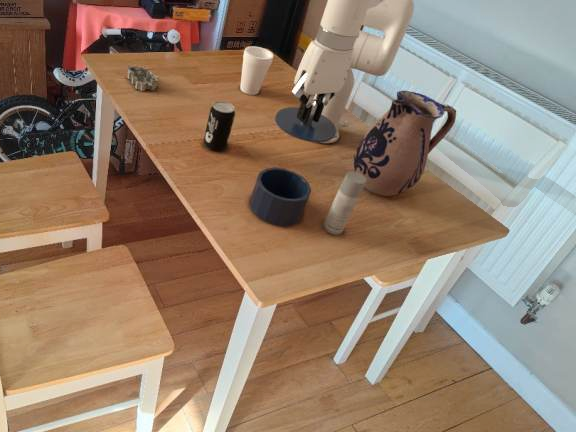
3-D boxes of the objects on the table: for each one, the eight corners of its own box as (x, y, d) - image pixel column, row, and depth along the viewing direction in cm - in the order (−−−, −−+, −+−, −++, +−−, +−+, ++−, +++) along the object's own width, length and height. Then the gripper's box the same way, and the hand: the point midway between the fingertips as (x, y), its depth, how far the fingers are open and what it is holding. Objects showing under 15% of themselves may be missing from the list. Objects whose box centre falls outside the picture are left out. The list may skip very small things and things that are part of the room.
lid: (311, 108, 120) (319, 85, 117) (347, 140, 112) (357, 116, 108) (263, 114, 115) (270, 89, 111) (297, 148, 106) (306, 122, 102)
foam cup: (245, 80, 175) (254, 44, 167) (268, 91, 172) (278, 54, 164) (230, 88, 169) (239, 50, 160) (253, 99, 165) (264, 61, 157)
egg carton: (158, 91, 159) (160, 78, 156) (135, 92, 156) (137, 79, 153) (147, 75, 166) (148, 63, 163) (125, 75, 163) (126, 63, 160)
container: (326, 218, 123) (349, 168, 114) (345, 227, 122) (369, 177, 113) (320, 228, 120) (343, 177, 111) (339, 237, 119) (363, 186, 109)
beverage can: (224, 154, 138) (234, 115, 130) (200, 148, 138) (209, 108, 130) (228, 142, 143) (238, 104, 135) (205, 136, 143) (213, 97, 135)
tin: (282, 188, 130) (291, 164, 125) (311, 220, 122) (321, 196, 117) (240, 196, 125) (247, 171, 120) (267, 230, 116) (276, 204, 112)
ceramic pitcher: (332, 168, 142) (367, 85, 126) (392, 163, 149) (433, 84, 133) (369, 209, 130) (412, 123, 114) (432, 201, 137) (481, 120, 121)
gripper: (354, 29, 106) (325, 107, 118) (292, 31, 99) (267, 114, 111) (378, 44, 101) (345, 125, 113) (314, 48, 94) (286, 133, 106)
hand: (307, 119), depth 112 cm, fingers closed on lid, 2 cm apart
